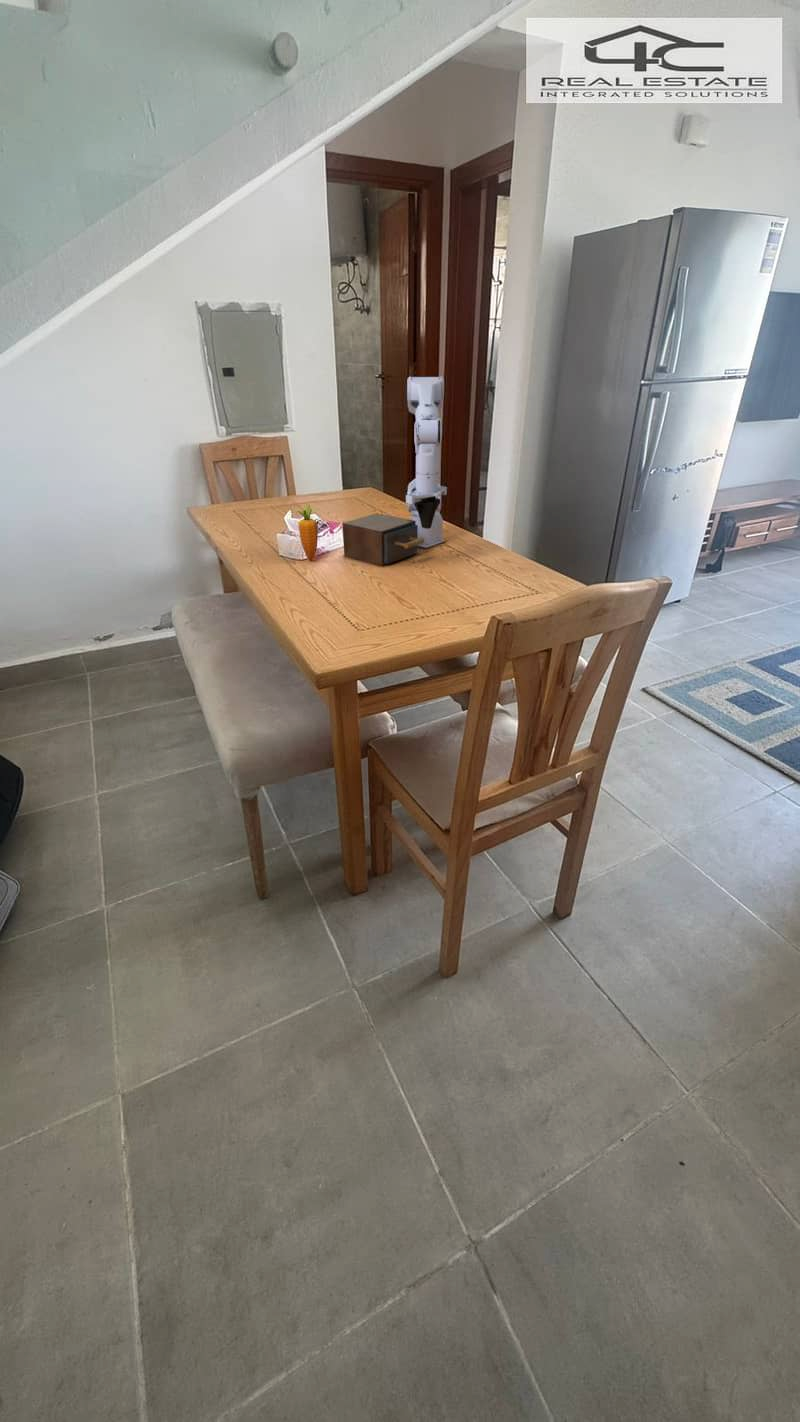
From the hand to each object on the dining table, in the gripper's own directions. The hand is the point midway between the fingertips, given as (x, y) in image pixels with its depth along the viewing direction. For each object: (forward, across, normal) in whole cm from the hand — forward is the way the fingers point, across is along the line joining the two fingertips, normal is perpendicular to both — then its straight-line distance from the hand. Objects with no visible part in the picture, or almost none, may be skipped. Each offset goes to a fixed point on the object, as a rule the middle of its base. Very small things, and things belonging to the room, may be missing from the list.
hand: (426, 527), depth 158 cm
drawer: (+10, 0, +12) cm, 16 cm away
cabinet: (+10, 0, +16) cm, 20 cm away
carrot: (+11, -16, +28) cm, 34 cm away
